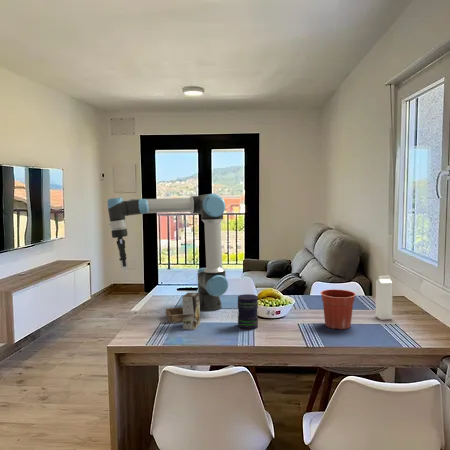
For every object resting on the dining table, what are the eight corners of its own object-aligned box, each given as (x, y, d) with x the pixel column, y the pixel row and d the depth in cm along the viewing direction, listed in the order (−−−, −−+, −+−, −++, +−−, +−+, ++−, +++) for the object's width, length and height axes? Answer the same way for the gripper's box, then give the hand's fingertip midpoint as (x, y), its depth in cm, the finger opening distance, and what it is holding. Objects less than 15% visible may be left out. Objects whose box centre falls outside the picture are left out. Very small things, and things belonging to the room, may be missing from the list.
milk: (375, 316, 218) (375, 274, 216) (386, 316, 218) (386, 274, 217) (380, 319, 212) (381, 276, 210) (392, 319, 212) (392, 276, 211)
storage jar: (234, 325, 206) (234, 295, 205) (252, 322, 210) (252, 293, 209) (243, 331, 197) (243, 300, 196) (261, 328, 201) (261, 297, 200)
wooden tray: (190, 313, 227) (189, 306, 227) (195, 321, 214) (195, 313, 213) (166, 316, 224) (165, 308, 223) (170, 323, 210) (169, 315, 210)
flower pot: (354, 332, 193) (354, 298, 192) (318, 329, 199) (318, 295, 197) (356, 322, 208) (356, 290, 207) (322, 319, 214) (322, 288, 213)
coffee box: (195, 330, 200) (195, 296, 199) (182, 329, 201) (182, 296, 200) (200, 324, 209) (200, 292, 208) (188, 323, 210) (187, 291, 209)
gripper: (110, 228, 218) (116, 268, 220) (111, 231, 194) (117, 276, 196) (125, 226, 220) (131, 266, 222) (127, 229, 196) (134, 273, 198)
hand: (124, 271), depth 209 cm, fingers open, 13 cm apart
